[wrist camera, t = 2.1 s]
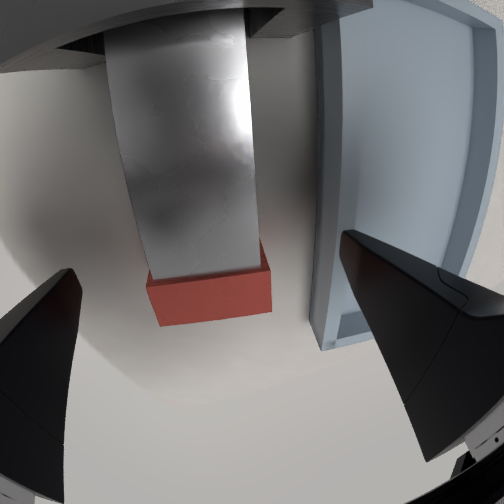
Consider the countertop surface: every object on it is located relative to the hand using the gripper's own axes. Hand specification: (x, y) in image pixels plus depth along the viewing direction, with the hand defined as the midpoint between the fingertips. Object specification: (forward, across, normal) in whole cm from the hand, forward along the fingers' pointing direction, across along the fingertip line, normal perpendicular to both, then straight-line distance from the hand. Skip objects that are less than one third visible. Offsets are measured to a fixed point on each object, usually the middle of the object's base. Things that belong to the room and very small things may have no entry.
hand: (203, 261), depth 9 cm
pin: (+4, 0, -4) cm, 6 cm away
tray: (+4, -10, -1) cm, 11 cm away
